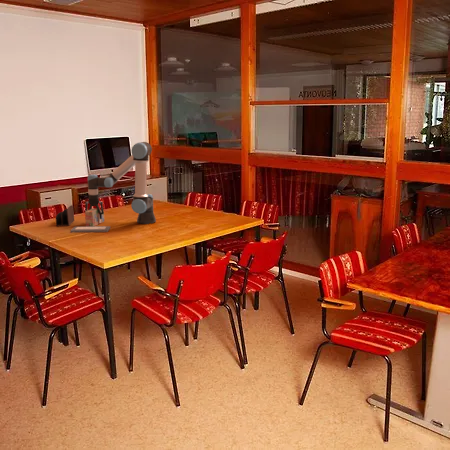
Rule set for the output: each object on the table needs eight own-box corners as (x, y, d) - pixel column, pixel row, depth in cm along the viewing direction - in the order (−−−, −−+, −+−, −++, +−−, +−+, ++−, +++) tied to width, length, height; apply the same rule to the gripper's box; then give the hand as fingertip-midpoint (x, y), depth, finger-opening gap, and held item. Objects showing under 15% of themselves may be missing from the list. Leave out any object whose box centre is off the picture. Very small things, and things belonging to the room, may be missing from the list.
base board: (110, 228, 379) (110, 225, 378) (107, 232, 366) (107, 229, 366) (74, 228, 377) (74, 226, 377) (70, 232, 365) (70, 230, 364)
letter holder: (74, 221, 405) (73, 204, 402) (68, 226, 385) (67, 208, 382) (62, 221, 404) (60, 204, 401) (55, 226, 385) (54, 208, 381)
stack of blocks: (97, 221, 404) (96, 206, 401) (104, 221, 403) (103, 206, 400) (85, 226, 383) (84, 211, 380) (93, 227, 382) (92, 211, 379)
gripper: (107, 193, 391) (108, 221, 396) (81, 193, 390) (83, 221, 395) (105, 195, 384) (106, 223, 389) (79, 195, 383) (81, 223, 388)
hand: (94, 222), depth 392 cm, fingers closed on stack of blocks, 7 cm apart
